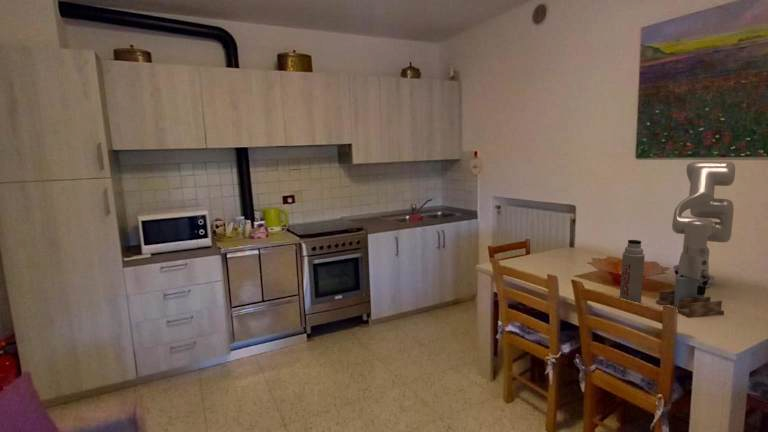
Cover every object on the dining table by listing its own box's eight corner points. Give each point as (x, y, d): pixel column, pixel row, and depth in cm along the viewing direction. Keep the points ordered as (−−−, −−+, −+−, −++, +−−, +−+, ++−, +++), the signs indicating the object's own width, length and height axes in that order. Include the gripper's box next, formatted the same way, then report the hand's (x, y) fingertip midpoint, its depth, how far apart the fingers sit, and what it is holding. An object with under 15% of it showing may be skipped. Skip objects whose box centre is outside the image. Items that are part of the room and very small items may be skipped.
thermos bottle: (627, 307, 172) (632, 243, 168) (615, 300, 180) (619, 239, 176) (645, 306, 173) (650, 242, 169) (632, 299, 181) (636, 238, 177)
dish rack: (688, 300, 179) (689, 288, 178) (723, 314, 163) (725, 301, 162) (656, 303, 176) (657, 291, 175) (688, 317, 161) (690, 304, 160)
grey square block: (698, 302, 172) (700, 275, 170) (703, 304, 169) (706, 276, 168) (673, 305, 170) (675, 277, 168) (678, 307, 167) (681, 279, 166)
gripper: (722, 255, 158) (718, 297, 161) (683, 245, 175) (680, 283, 178) (706, 256, 157) (701, 299, 159) (668, 246, 174) (665, 285, 176)
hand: (690, 290), depth 169 cm, fingers open, 9 cm apart
